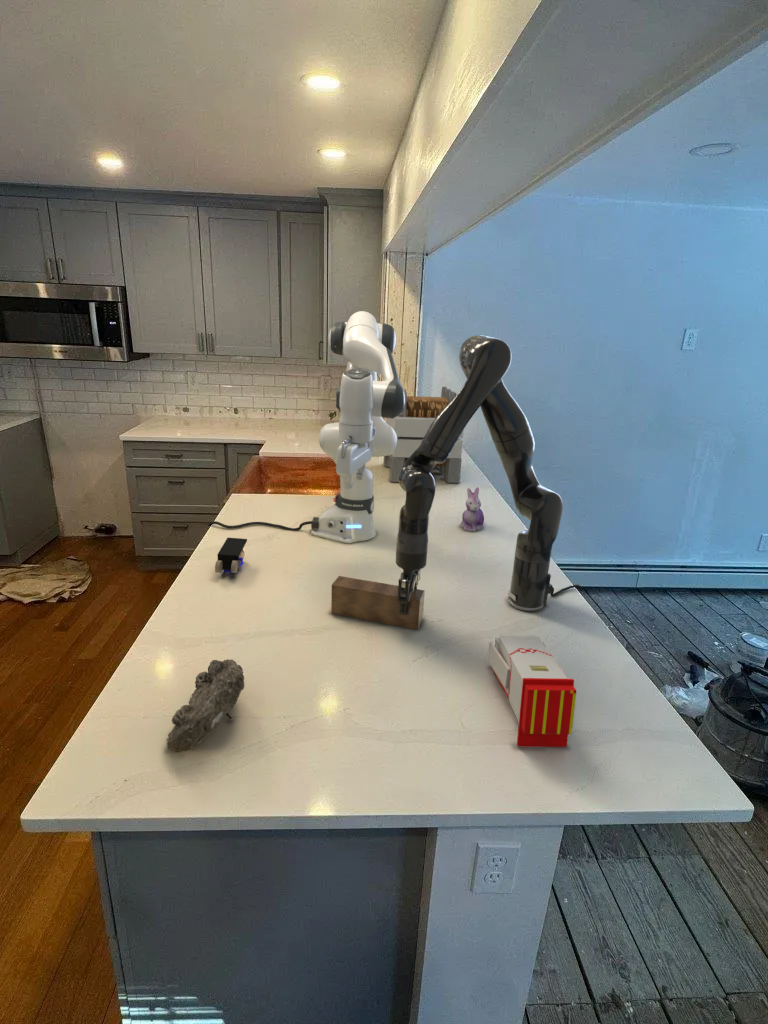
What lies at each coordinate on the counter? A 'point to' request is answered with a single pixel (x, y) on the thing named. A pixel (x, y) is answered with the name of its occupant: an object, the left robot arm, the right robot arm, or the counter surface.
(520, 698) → the toy
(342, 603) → the bar
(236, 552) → the figurine character
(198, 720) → the fossil
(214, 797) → the counter surface
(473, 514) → the figurine
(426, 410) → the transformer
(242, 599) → the counter surface
